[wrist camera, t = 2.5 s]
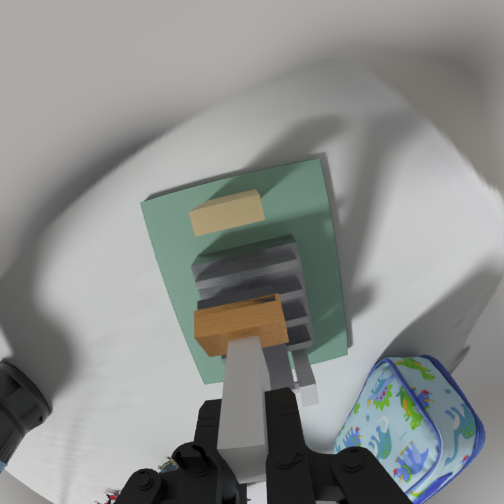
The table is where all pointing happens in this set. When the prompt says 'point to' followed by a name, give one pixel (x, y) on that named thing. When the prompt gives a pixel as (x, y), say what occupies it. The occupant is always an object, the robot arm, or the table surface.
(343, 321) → the board
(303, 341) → the heatsink
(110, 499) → the molecular model
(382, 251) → the table surface
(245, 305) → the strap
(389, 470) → the lunch box
